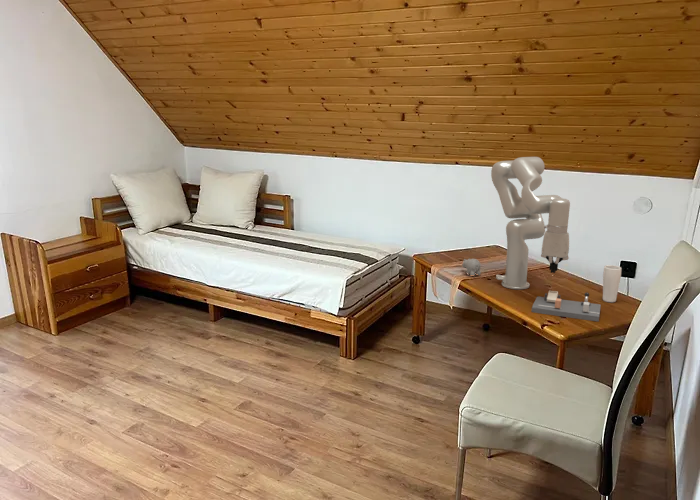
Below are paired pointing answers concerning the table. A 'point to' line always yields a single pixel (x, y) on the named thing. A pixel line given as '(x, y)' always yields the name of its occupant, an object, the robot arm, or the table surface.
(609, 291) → the drinking glass
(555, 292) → the rocker switch
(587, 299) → the toggle lever
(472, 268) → the toy rhinoceros
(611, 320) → the table surface
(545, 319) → the table surface
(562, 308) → the switch panel
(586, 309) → the slide paddle
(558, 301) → the slide paddle
